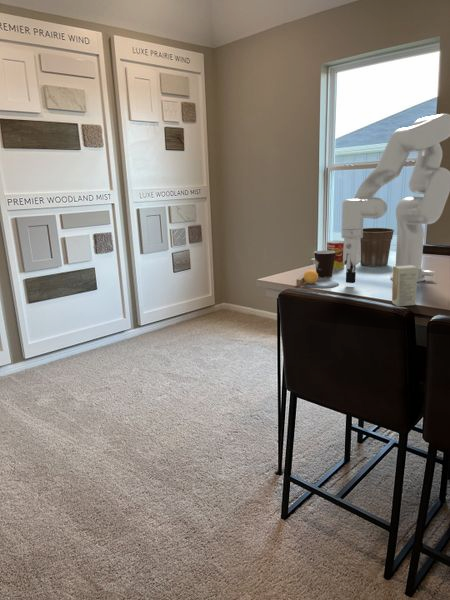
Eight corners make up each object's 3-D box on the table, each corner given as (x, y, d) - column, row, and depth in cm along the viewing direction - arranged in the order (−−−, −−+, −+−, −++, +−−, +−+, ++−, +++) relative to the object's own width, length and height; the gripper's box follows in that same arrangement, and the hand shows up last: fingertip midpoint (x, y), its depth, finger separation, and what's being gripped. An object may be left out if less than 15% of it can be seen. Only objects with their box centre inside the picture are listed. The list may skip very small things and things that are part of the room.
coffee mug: (335, 277, 185) (335, 253, 182) (313, 277, 187) (314, 253, 184) (334, 272, 196) (334, 249, 193) (314, 272, 198) (314, 249, 195)
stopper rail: (307, 280, 182) (307, 274, 181) (300, 286, 173) (300, 279, 172) (304, 280, 182) (304, 274, 182) (296, 285, 174) (296, 279, 173)
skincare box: (410, 302, 145) (412, 264, 142) (416, 305, 141) (418, 267, 138) (390, 302, 145) (392, 265, 142) (395, 306, 141) (398, 268, 138)
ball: (320, 282, 177) (319, 268, 175) (316, 285, 172) (315, 271, 171) (306, 282, 179) (305, 268, 178) (302, 285, 174) (301, 271, 173)
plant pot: (395, 267, 200) (397, 231, 196) (358, 268, 203) (359, 232, 199) (388, 261, 216) (390, 227, 212) (354, 261, 218) (355, 228, 214)
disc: (342, 281, 177) (342, 281, 177) (334, 289, 166) (334, 288, 166) (309, 279, 183) (309, 279, 183) (300, 286, 172) (300, 286, 171)
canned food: (324, 267, 208) (324, 241, 205) (340, 266, 209) (341, 240, 206) (329, 270, 201) (330, 243, 198) (346, 269, 201) (347, 242, 198)
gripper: (358, 236, 156) (357, 287, 161) (366, 231, 169) (364, 279, 174) (337, 235, 160) (335, 286, 164) (346, 231, 173) (344, 277, 177)
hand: (350, 282), depth 169 cm, fingers closed
